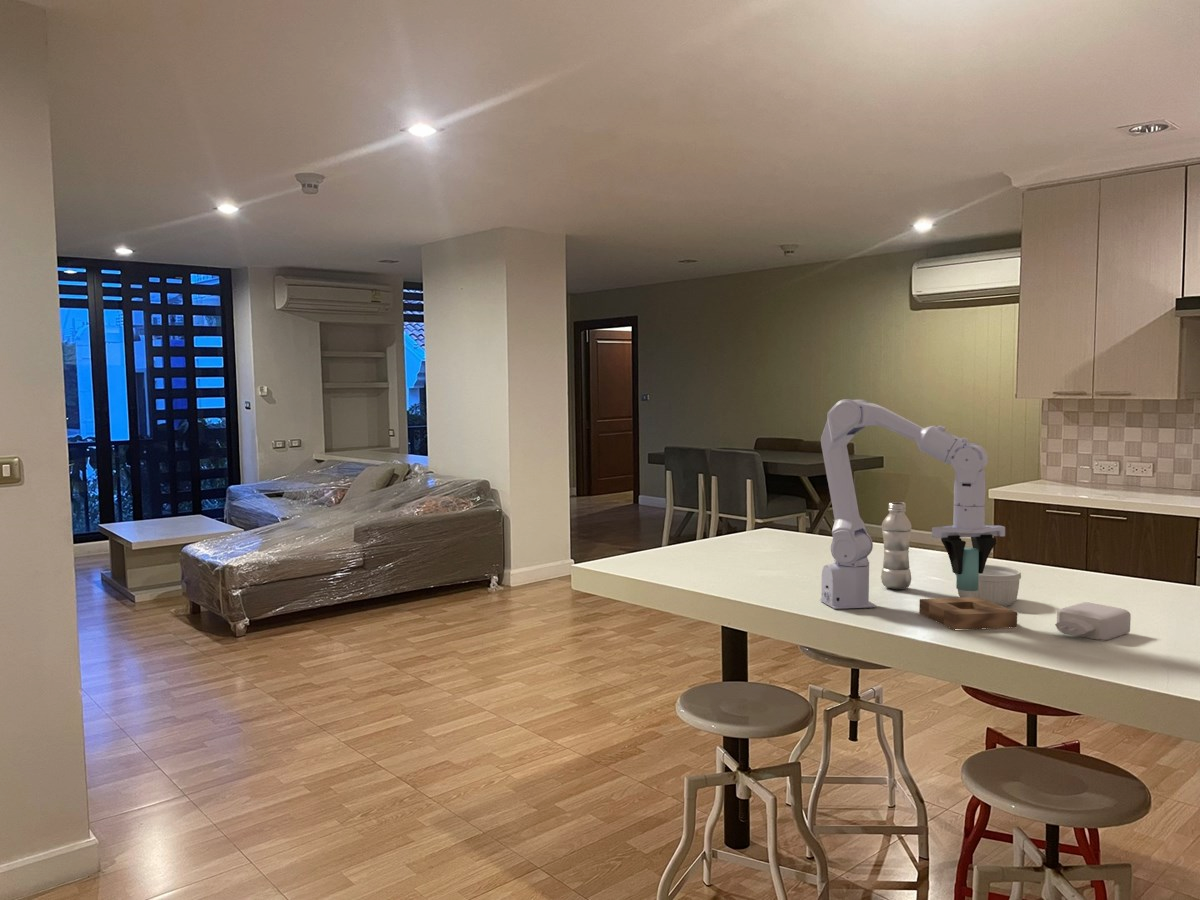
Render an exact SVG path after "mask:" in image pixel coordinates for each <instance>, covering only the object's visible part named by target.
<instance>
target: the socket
mask: <svg viewBox="0 0 1200 900" xmlns="http://www.w3.org/2000/svg"><path fill="white" fill-rule="evenodd" d="M918 606H919V607H918V608H919V610H918V611H919V612H918V613H920V615H921V614H922V616H924V617H925V618H928V619H930V620H932V621H934V622H936V621H937V622H936V623H938V622H939V623H938V624H940V623H941V625H942V624H943V626H944V625H945V626H944V627H946V626H947V627H946V628H948V627H950V628H949V629H951V628H952V629H951V630H953V629H954V630H953V631H956V630H955V629H973V630H983V629H982V628H986V629H985V630H988V629H987V628H995V629H1010V628H1011V627H1017V628H1018V611H1015V610H1013V609H1010V608H1007V607H1005V606H1000V605H998V604H995V603H993V602H990V601H987V600H985V599H982V598H980V597H961V598H960V597H941V598H940V597H939V598H919V605H918ZM1009 627H1010V628H1009ZM1011 629H1012V628H1011Z"/></svg>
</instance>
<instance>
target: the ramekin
mask: <svg viewBox="0 0 1200 900" xmlns="http://www.w3.org/2000/svg"><path fill="white" fill-rule="evenodd" d="M954 575H955V576H956V577H955V579H957V574H956V573H954ZM1021 579H1022V572H1021V570H1019V569H1017V568H1013V567H1009V566H1002V565H997V564H996V565H995V564H985V567H984V571H983V573H981V574H980V573H979V575H978V590H977V591H963V590H959V589H957V593H958V596H959V598H961V597H980V598H982V599H985V600H987V601H990V602H993V603H995V604H998V605H1000V606H1003V607H1005V605H1007V606H1010V605H1013V604H1014V603H1015V602H1017V599H1018V595H1019V589H1020V581H1021Z"/></svg>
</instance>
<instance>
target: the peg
mask: <svg viewBox="0 0 1200 900" xmlns="http://www.w3.org/2000/svg"><path fill="white" fill-rule="evenodd" d="M978 575H979V549H976V548H973V547H966V546H965V548H964V552H963V560H962V574H957V578H956V583H955V586H956V589H957V590H958V589H959V590H963V591H977V590H978Z"/></svg>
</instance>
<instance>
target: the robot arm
mask: <svg viewBox="0 0 1200 900" xmlns="http://www.w3.org/2000/svg"><path fill="white" fill-rule="evenodd" d="M826 414H827V415H826V416H827V419H826V423H825V425H824V427H823V431H822V434H821V436H820V446H821V452H822V456H823V462H824V463H823V464H824V468H825V474H826V479H827V483H828V489H829V495H830V502H831V505H832V506H831V507H832V512H833V519H834V523H833V526H832V530H831V534H832V540H831V545H830V553H831V556H832V558H833V559H834V561H833V563H831V564H830V563H829V564H826V565H824V566H823V567H822V570H821V597H820V599H819V601H820V602H822V603H823V604H825V605H827V606H829V607H831V608H832V609H835V610H837V609H838V610H840V609H841V610H844V609H867V608H877V604H875V603H873V602H871V601H870V600H869V599H870V597H869V595H870V593H869V592H870V561H869V559H868V556H869V555H870V554H871V552H872V551H873V548H874V547H873V546H874V543H873V539H872V538H871V536H870V534H869V533H868V531H867V528H866V525H865V524H866V523H865V522H864V521H863V519H862V518H861V516H860V512H859V506H858V500H857V495H856V489H855V488H856V487H855V483H854V478H853V471H852V468H851V461H850V457H849V451H848V444H849V443H850V441H851V440H853V438H854V437H855V435H856V434H857V433H859V432H861V431H862V430H863V429H865V428H866V427H875V426H876V427H882V428H884V429H887V430H889V431H891V432H894V433H896V434H898V435H900V436H902V437H905V438H906V439H908V440H910V441H913V442H915V443H916V445H917V448H918V451H920V452H922V453H924V454H926V455H927V456H930V457H932V458H934V459H935V460H937V461H940V462H942V463H944V464H946V465H951V467H952V468H953V470H954V481H953V513H952V514H953V515H952V516H953V520H952V525H946V526H945V525H944V526H935V527H933V526H932V527H931V537H932V538H935V539H940V540H941V543H942V545H943V546H944V548H945V551H946V552H947V555H948V558H949V561H950V566H951V570H952V573H954V574H955V573H956V574H962V560H963V552H964V548H965V547H966V544H967V542H966V540H962V538H969V537H970V540H971V541H970V542H971V547H972V548H976V549H979V573H980V574H981V573H983V571H984V567H985V565H987V560H988V559H989V556H990V554H991V552H992V550H993V548H994V547H995V546H996V544H997V538H996V537H1006V526H1003V525H987V524H986V523H985V519H986V515H985V514H986V481H985V480H986V469H985V468H986V467H987V465H988V463H989V454H988V451H987V450H986V449H985V447H982V446H981V445H980V444H979V443H976V442H972V443H971V442H969V443H968V441H969V439H968V438H966V437H959V436H957V435H954V434H952V433H950V432H948V431H946V430H947V429H946V427H945V426H943V425H938V426H935V425H930V426H926V427H923V426H920V425H919V424H917V423H915V422H913V421H911V420H910V419H907V418H905V417H903V416H902V415H900V414H898V413H895V412H894V411H893V410H890V409H888V408H887V407H884V406H881V405H880V404H877V403H873V402H868V400H865V399H863V398H862V399H861V398H857V399H848V398H847V399H846V398H845V399H841V400H839V401H837V402H836V403H835V404H834V405H833V406H832V407H831V408H830V409H829V410H828V412H827V413H826ZM985 524H986V525H985Z"/></svg>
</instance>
